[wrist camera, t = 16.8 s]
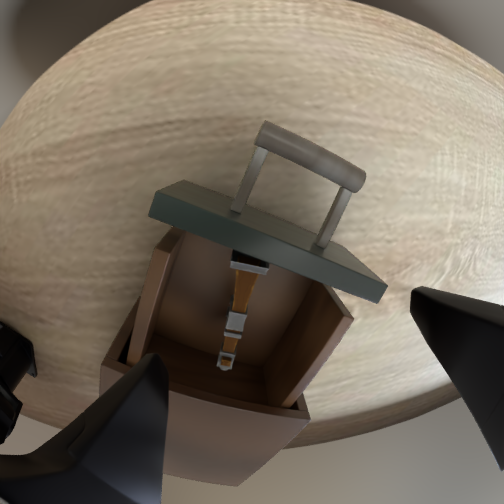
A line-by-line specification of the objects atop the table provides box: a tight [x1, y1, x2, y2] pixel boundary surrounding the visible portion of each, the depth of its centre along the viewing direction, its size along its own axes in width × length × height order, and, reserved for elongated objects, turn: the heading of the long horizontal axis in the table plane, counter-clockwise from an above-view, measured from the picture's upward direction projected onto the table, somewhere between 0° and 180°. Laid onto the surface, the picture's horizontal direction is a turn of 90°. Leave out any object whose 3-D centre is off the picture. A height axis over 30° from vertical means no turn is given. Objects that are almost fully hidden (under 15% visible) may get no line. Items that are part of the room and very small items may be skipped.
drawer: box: [126, 120, 388, 409], centre depth 16 cm, size 17×12×7 cm
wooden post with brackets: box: [217, 249, 269, 370], centre depth 16 cm, size 2×8×4 cm, turn 168°
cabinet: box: [99, 296, 311, 486], centre depth 20 cm, size 14×14×9 cm
